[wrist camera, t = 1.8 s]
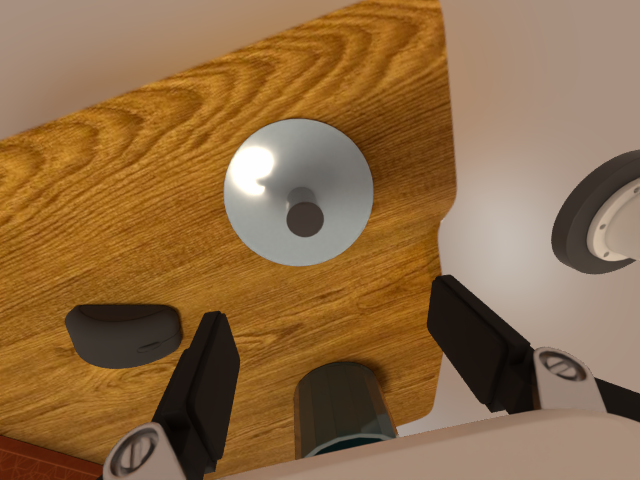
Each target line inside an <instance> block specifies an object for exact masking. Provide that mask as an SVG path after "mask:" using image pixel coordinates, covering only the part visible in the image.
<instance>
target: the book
mask: <svg viewBox="0 0 640 480" xmlns="http://www.w3.org/2000/svg"><path fill="white" fill-rule="evenodd" d="M102 474H103V466H102V465H99V464H95V463H92V462H89V461H85V460H82V459H78V458H75V457H72V456H68V455H65V454H62V453H58V452H55V451H51V450H48V449H45V448H41V447H38V446H34V445H31V444H28V443H24V442H21V441H18V440H14V439H11V438H7V437H4V436H1V435H0V480H96V479H97V478H98V477H100V476H101V475H102Z"/></svg>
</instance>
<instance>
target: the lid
mask: <svg viewBox="0 0 640 480" xmlns="http://www.w3.org/2000/svg"><path fill="white" fill-rule="evenodd" d="M373 194H374V192H373V181H372V176H371V172H370V169H369V166H368V164H367V162H366V160H365V158H364V156H363V154H362V153H361V151H360V150H359V148H358V147H357V146H356V145H355V144H354V142H353V141H352V140H351V139H349V138H348V137H347V136H346V135H345V134H344V133H342V132H340V131H339V130H337V129H336V128H334V127H332V126H330V125H327V124H325V123H322V122H318V121H315V120H309V119H288V120H282V121H278V122H275V123H272V124H269V125H267V126H265V127H263V128H261V129H259V130H258V131H256V132H255V133H254V134H252V135H251V136H250V137H249V138H247V139H246V140H245V141H244V142H243V143H242V145H241V146H240V147H239V148H238V150H237V151H236V152H235V154H234V156H233V158H232V159H231V161H230V164H229V166H228V169H227V172H226V176H225V180H224V203H225V208H226V212H227V215H228V218H229V221H230V223H231V225H232V227H233V229H234V230H235V232H236V233H237V235H238V236H239V238H240V239H241V240H242V241H243V242H244V243H245V244H246V245H247V246H248V247H249V248H250V249H251V250H253V251H254V252H255V253H257V254H258V255H260V256H262V257H264V258H266V259H268V260H270V261H273V262H275V263H279V264H283V265H289V266H309V265H314V264H319V263H322V262H325V261H327V260H330V259H332V258H334V257H336V256H337V255H339V254H341V253H342V252H343V251H345V250H346V249H347V248H349V247H350V246H351V245H352V244H353V243H354V242H355V240H356V239H357V238H358V237H359V236H360V234H361V232H362V231H363V229H364V228H365V226H366V224H367V221H368V219H369V216H370V213H371V209H372V204H373Z"/></svg>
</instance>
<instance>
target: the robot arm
mask: <svg viewBox="0 0 640 480" xmlns="http://www.w3.org/2000/svg"><path fill="white" fill-rule="evenodd" d="M587 247H588V249H589V251H590V252H591V253H592V254H593V255H594V256H596V257H598V258H600V259H603V260H606V261H619V260H624V259H627V258H632V259H635V260H638V261H640V178H638V179H636V180H634V181H631V182H629V183H628V184H626V185H625V186H623V187H621V188H620V189H619V190H618V191H616V192H615V193H614V194H613V195H611V196H610V197H609V198H608V199H607V200H606V201H605V202H604V204H603V205H602V206H601V207H600V209H599V210H598V211H597V213H596V214H595V216H594V218H593V219H592V222H591V224H590V226H589V229H588V233H587ZM427 328H428V331H429V333H430V334H431V335H432V337H433V338H434V340H435V341H436V342H437V344H438V345H439V346H440V348H441V349H442V351H443V352H444V353H445V355H446V356H447V358H448V359H449V360H450V362H451V363H452V364H453V366H454V367H455V368H456V370H457V371H458V373H459V374H460V376H461V377H462V378H463V380H464V381H465V383H466V384H467V385H468V387H469V388H470V390H471V391H472V392H473V394H474V395H475V396H476V398H477V399H478V400H479V402H480V403H482V404H485V405H486V406H487V408H488V409H489V411H490V412H491V413H493V412H498V411H503V410H506V411H507V412H508V414H509V415H506V416H501V417H496V418H491V419H486V420H481V421H476V422H471V423H466V424H461V425H457V426H452V427H447V428H442V429H438V430H433V431H428V432H423V433H418V434H414V435H409V436H404V437H400V438H395V439H390V440H386V441H381V442H376V443H372V444H367V445H362V446H358V447H353V448H349V449H344V450H339V451H335V452H330V453H326V454H321V455H317V456H312V457H308V458H303V459H299V460H294V461H290V462H285V463H280V464H276V465H271V466H267V467H263V468H259V469H255V470H251V471H247V472H242V473H238V474H234V475H230V476H226V477H222V478H219V479H215V480H640V394H639V393H636V392H633V391H631V390H628V389H625V388H622V387H620V386H617V385H614V384H612V383H609V382H606V381H603V380H601V379H598V378H595V377H594V376H593V374H592V372H591V371H590V369H589V368H588V367H587V366H586V365H585V364H584V363H583V362H582V361H580V360H579V359H577V358H576V357H574V356H573V355H571V354H569V353H567V352H564V351H562V350H559V349H555V348H551V347H540V348H537V349H536V350H534V349H533V348H532V347H531V346H530V343H529V342H528V341H527V340H526V339H525V338H524V337H523V336H521V335H520V334H519V333H518V332H517V331H516V330H514V329H513V328H512V327H511V326H510V325H509V324H508V323H506V322H505V321H504V320H503V319H501V317H499V316H498V315H497V314H496V313H495V312H494V311H492V310H491V309H490V308H489V307H488V306H487V305H485V304H484V303H483V302H482V301H481V300H480V299H479V298H477V297H476V296H475V295H474V294H473V293H472V292H470V291H469V290H468V289H467V288H466V287H465V286H463V285H462V284H461V283H460V282H459V281H457V279H455V278H454V277H453V276H452V275H443V276H437V277H436V278H435V280H433V282H432V288H431V296H430V303H429V311H428V319H427ZM239 368H240V357H239V354H238V351H237V348H236V345H235V342H234V338H233V335H232V332H231V329H230V326H229V323H228V320H227V317H226V315H225V314H224V313H223V314H221V312H220V311H214V312H207V313H205V314H204V315H203V317H202V320H201V322H200V324H199V327H198V329H197V331H196V334H195V336H194V338H193V340H192V343H191V345H190V347H189V348H188V349H186V350H184V352H183V353H182V355H181V357H180V359H179V362H178V364H177V366H176V368H175V370H174V372H173V375H172V377H171V379H170V381H169V383H168V386H167V388H166V390H165V392H164V394H163V397H162V399H161V401H160V403H159V405H158V407H157V410H156V412H155V414H154V416H153V418H152V421H151V422H148V423H144V424H142V425H139V426H137V427H135V428H134V429H132V430H131V431H129V432H128V433H127V434H126V435H124V436H123V437H122V438H121V439H120V440H119V441H118V442H117V443H116V445H115V446H114V447H113V448H112V450H111V451H110V453H109V455H108V456H107V458H106V461H105V464H104V466H103V474H102V475H101V476H100V477H98V478H97V479H96V480H203V477H204V474H207V473H211V472H215V469H216V464H217V460H219V459H221V458H222V456H223V452H224V447H225V442H226V437H227V431H228V426H229V421H230V415H231V410H232V405H233V399H234V394H235V389H236V383H237V378H238V373H239Z"/></svg>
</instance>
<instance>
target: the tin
mask: <svg viewBox="0 0 640 480" xmlns="http://www.w3.org/2000/svg"><path fill="white" fill-rule="evenodd" d="M294 431H295V460H299V459H303V458H308V457H312V456H317V455H321V454H326V453H330V452H335V451H339V450H344V449H349V448H353V447H358V446H362V445H367V444H372V443H376V442H381V441H386V440H390V439H395V438H400V437H399V434H398V432H397V429H396V426H395V424H394V421H393V418H392V415H391V413H390V410H389V407H388V405H387V402H386V399H385V396H384V394H383V391H382V388H381V386H380V383H379V381H378V379H377V377H376V375H375V374H374V372H373V371H372V370H370V369H369V368H368V367H366V366H364V365H361V364H358V363H353V362H337V363H331V364H327V365H324V366H321V367H319V368H317V369H315V370H313V371H311V372H310V373H308V374H307V375H306V376H305V377H304V378H303V379H302V380H301V381H300V382H299V384H298V385H297V387H296V390H295V394H294Z"/></svg>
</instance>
